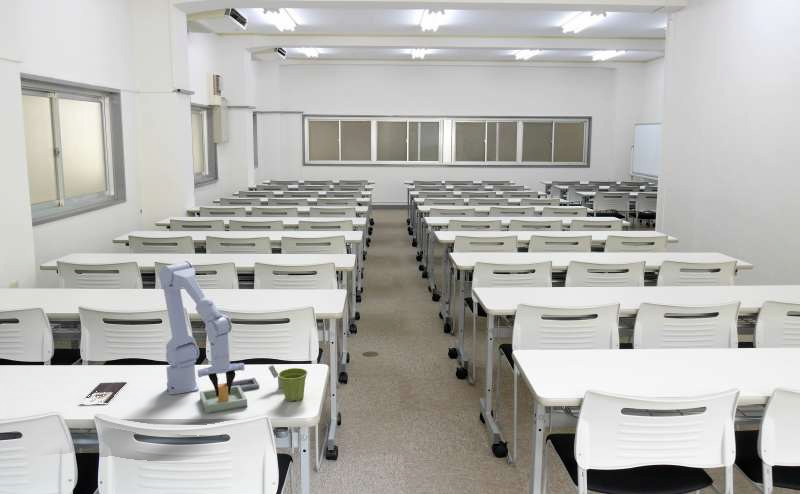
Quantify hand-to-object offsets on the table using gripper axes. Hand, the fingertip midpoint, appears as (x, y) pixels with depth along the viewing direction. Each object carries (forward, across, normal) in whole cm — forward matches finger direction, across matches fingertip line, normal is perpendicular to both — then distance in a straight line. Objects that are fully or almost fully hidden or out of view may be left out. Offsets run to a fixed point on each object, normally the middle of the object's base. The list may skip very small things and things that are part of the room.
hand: (222, 394), depth 223 cm
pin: (+2, 0, 0) cm, 2 cm away
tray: (+3, 0, 0) cm, 3 cm away
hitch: (+3, +8, +11) cm, 14 cm away
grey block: (+3, +20, +5) cm, 21 cm away
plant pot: (+3, +22, -6) cm, 23 cm away
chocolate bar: (+4, -36, +25) cm, 44 cm away
